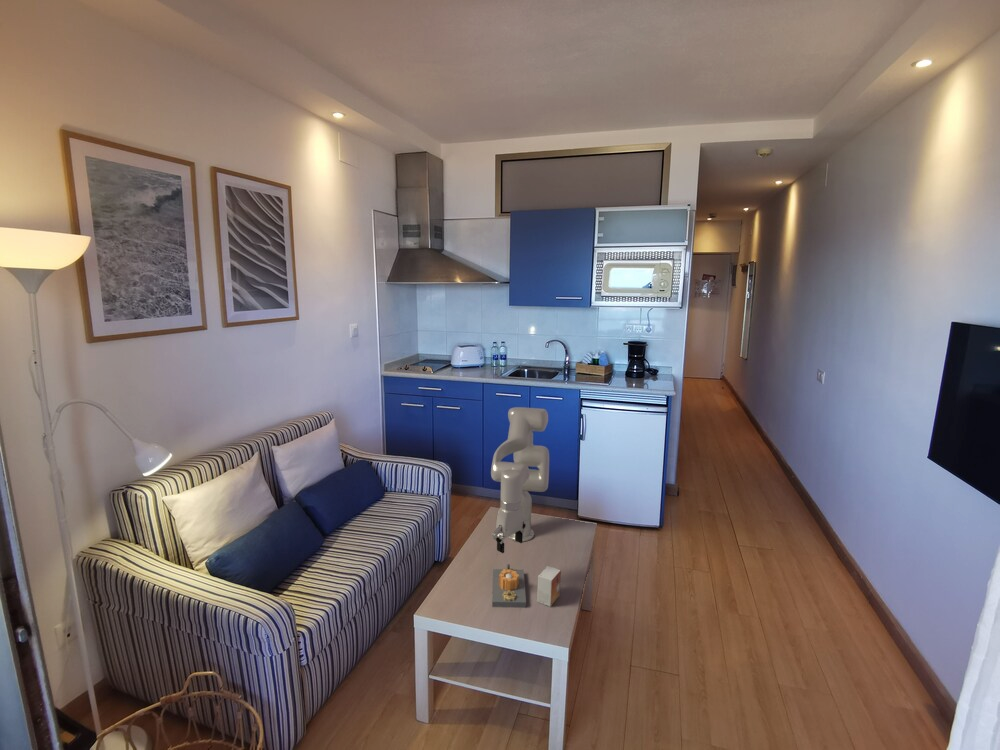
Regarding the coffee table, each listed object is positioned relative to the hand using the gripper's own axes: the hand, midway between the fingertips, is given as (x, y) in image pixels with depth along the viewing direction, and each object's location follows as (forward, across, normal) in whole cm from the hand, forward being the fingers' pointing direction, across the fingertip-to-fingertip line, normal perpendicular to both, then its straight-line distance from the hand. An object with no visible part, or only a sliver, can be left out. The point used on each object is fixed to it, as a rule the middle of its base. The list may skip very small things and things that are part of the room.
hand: (509, 546), depth 181 cm
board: (+18, 0, 0) cm, 18 cm away
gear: (+16, 0, 0) cm, 16 cm away
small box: (+18, -6, +14) cm, 24 cm away
